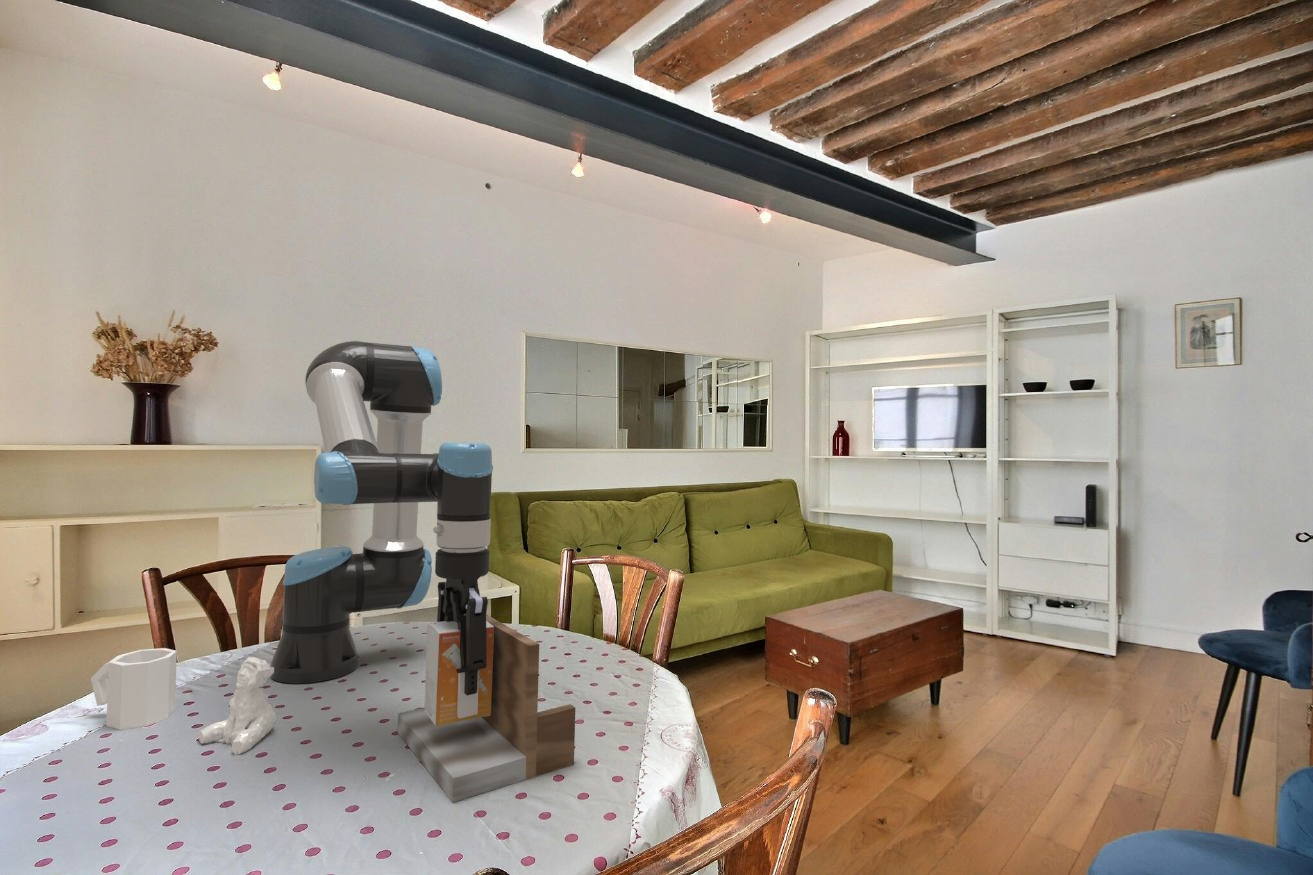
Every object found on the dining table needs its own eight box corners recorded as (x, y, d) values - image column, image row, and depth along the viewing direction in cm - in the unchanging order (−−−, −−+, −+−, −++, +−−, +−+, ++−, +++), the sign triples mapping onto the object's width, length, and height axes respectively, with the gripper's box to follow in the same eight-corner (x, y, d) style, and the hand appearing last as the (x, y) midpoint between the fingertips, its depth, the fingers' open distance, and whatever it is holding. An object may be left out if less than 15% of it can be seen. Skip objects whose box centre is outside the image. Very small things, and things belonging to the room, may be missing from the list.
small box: (435, 727, 90) (438, 633, 90) (423, 711, 95) (426, 622, 95) (492, 715, 94) (495, 625, 94) (478, 700, 100) (480, 615, 100)
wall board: (397, 732, 101) (401, 616, 101) (503, 707, 112) (506, 602, 112) (452, 802, 82) (457, 658, 82) (573, 764, 93) (577, 637, 93)
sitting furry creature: (193, 743, 96) (196, 662, 96) (249, 721, 104) (252, 645, 104) (238, 756, 92) (241, 671, 93) (292, 732, 100) (294, 654, 101)
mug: (186, 708, 108) (188, 648, 108) (145, 730, 100) (147, 666, 100) (114, 705, 108) (117, 646, 108) (67, 728, 100) (70, 663, 100)
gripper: (416, 540, 100) (411, 690, 100) (461, 560, 85) (456, 738, 85) (463, 537, 105) (459, 681, 105) (515, 556, 89) (510, 724, 89)
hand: (458, 706), depth 95 cm, fingers closed on small box, 6 cm apart
